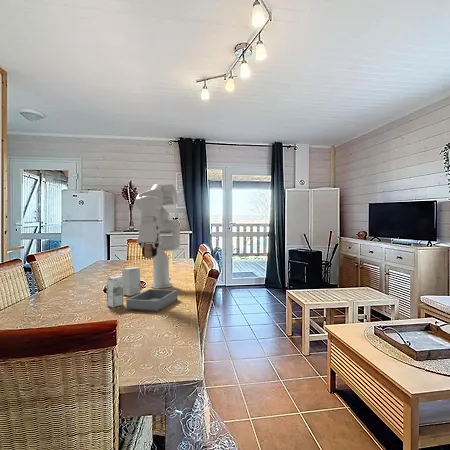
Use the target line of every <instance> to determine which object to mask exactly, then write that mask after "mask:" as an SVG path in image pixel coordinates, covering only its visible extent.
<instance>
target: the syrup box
mask: <svg viewBox="0 0 450 450" xmlns="http://www.w3.org/2000/svg"><path fill="white" fill-rule="evenodd" d="M106 306H107V307H109V308H114V309H115V308H116V307H121V306H124V295H123V275H118V274H117V275H110V276H106Z"/></svg>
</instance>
